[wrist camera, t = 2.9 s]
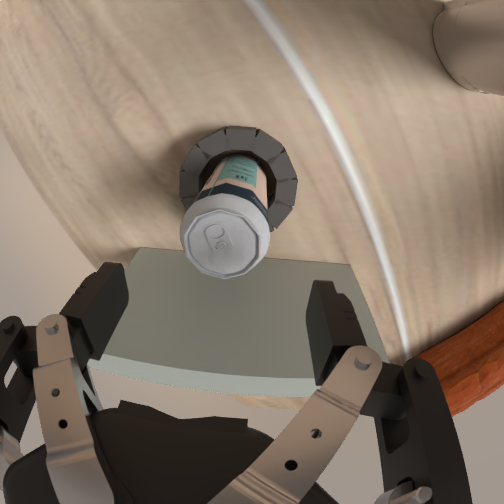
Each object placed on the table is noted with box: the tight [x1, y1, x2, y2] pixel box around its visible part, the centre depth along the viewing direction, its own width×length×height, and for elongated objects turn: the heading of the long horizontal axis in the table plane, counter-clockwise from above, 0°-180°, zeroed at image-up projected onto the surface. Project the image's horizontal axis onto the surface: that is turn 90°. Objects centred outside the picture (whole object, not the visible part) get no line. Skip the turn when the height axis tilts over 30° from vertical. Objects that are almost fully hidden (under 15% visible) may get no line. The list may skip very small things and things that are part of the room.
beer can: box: [180, 154, 270, 279], centre depth 19 cm, size 5×5×12 cm
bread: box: [416, 301, 504, 417], centre depth 32 cm, size 16×27×11 cm, turn 123°
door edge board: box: [87, 247, 390, 397], centre depth 23 cm, size 2×22×14 cm, turn 85°
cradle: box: [180, 126, 298, 232], centre depth 23 cm, size 9×9×2 cm
